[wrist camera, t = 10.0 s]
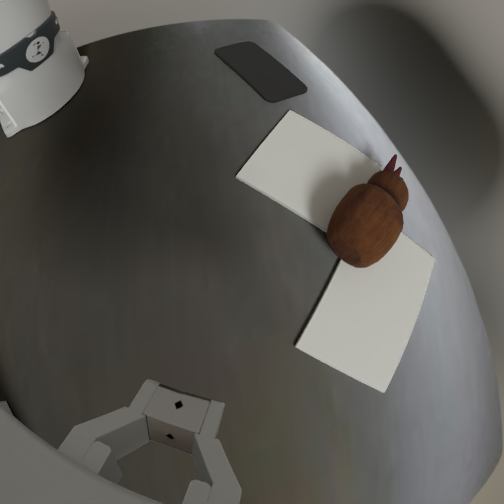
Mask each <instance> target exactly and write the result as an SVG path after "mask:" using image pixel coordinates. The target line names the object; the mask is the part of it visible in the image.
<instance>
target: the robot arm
mask: <svg viewBox="0 0 504 504" xmlns="http://www.w3.org/2000/svg"><path fill="white" fill-rule="evenodd" d="M59 30H60V27H59V24H58V19H57V17H56V16H55V13H54V12H53V11H51V10H50V6H49V3H48V0H0V122H1V125H2V128H3V130H4V133H5V135H6V136H7V137H11V136H12V135H14V134H16V133H17V132H18V131H20V130H21V129H24V128H26V127H30V126H32V125H35V124H37V123H39V122H41V121H43V120H45V119H46V118H48V117H49V116H51V115H52V114H54V113H55V112H56V111H57V110H59V109H60V108H61V107H62V106H63V105H65V104H66V103H67V102H68V101H69V100H70V99H71V98H72V97H73V95H74V94H75V93H76V92H77V91H78V89H79V88H80V86H81V84H82V82H83V80H84V76H85V73H84V70H85V68H86V66H87V64H88V63H89V59H88V57H87V56H80V55H79V53H78V50H77V48H76V47H75V44H74V42H73V40H72V37H71V35H70V33H69V32H65V31H59ZM224 406H225V403H221V402H217V401H214V400H211V399H208V398H204V397H200V396H197V395H194V394H190V393H187V392H182V391H179V390H177V389H174V388H171V387H169V386H166V385H163V384H161V383H158V382H156V381H153V380H150V379H147V380H146V381H145V382H144V384H143V385H142V387H141V388H140V390H139V392H138V393H137V395H136V396H135V398H134V400H133V401H132V403H131V404H130V406H129V408H127V407H123V408H120V409H118V410H115V411H113V412H111V413H108V414H106V415H103V416H100V417H98V418H95V419H93V420H90V421H87V422H85V423H82V424H79V425H76V426H74V428H73V429H72V430H71V432H70V433H69V435H68V436H67V437H66V439H65V440H64V442H63V443H62V444H61V446H60V447H59V449H58V450H57V449H55V448H54V447H52V446H51V445H50V444H48V443H47V442H45V441H44V440H43V439H41V438H40V437H39V436H37V435H36V434H35V433H33V432H32V431H31V430H30V429H28V428H27V427H26V426H25V425H24V424H22V423H21V422H20V421H19V420H18V419H16V418H15V417H14V416H13V415H12V414H11V413H10V412H9V411H7V410H6V409H5V408H4V407H3V406H2V405H1V404H0V504H164V503H161V502H158V501H156V500H153V499H150V498H148V497H145V496H143V495H140V494H138V493H135V492H133V491H131V490H129V489H126V488H124V487H122V486H120V485H118V483H119V480H120V478H121V476H122V473H121V470H120V468H119V466H118V464H117V462H116V460H117V459H119V458H121V457H123V456H125V455H126V454H128V453H130V452H132V451H133V450H135V449H137V448H139V447H140V446H142V445H144V444H145V443H147V442H149V440H151V441H154V442H157V443H160V444H163V445H165V446H169V447H171V448H174V449H177V450H180V451H183V452H186V453H188V454H191V455H192V457H193V461H194V464H195V467H196V470H197V473H198V476H199V479H200V481H198V480H193V481H191V482H190V484H189V487H188V490H187V492H186V495H185V498H184V500H183V503H182V504H239V502H240V497H241V493H242V489H241V487H240V485H239V483H238V481H237V479H236V477H235V475H234V473H233V470H232V468H231V466H230V464H229V462H228V459H227V457H226V455H225V453H224V450H223V448H222V446H221V443H220V441H219V439H216V437H217V434H218V430H219V426H220V422H221V418H222V414H223V410H224Z"/></svg>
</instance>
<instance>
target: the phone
mask: <svg viewBox="0 0 504 504" xmlns="http://www.w3.org/2000/svg"><path fill="white" fill-rule="evenodd" d="M215 55H216V56H217V57H219V58H220V59H221V60H222V61H223V62H224V63H225V64H226V65H228V66H229V67H230V68H231V69H232V70H233V71H234V72H236V73H237V74H238V75H239V76H240V77H241V78H242V79H243V80H244V81H245V82H246V83H247V84H248V85H250V86H251V87H252V88H253V89H254V90H255V91H256V92H257V93H258V94H259V95H260V96H261V97H262V98H263V99H264V100H265V101H267V102H270V103H275V102H279V101H282V100H285V99H288V98H291V97H294V96H297V95H301V94H304V93H306V91H307V87H306V85H305V84H303V83H302V82H301V81H300V80H299V79H298V78H297V77H296V76H295V75H293V74H292V73H291V72H290V71H289V70H288V69H286V68H285V67H284V66H283V65H282V64H281V63H279V62H278V61H277V60H276V59H274V58H273V57H272V56H271V55H269V54H268V53H267V52H266V51H264V50H263V49H262V48H261V47H259V46H258V45H257V44H255V43H253V42H242V43H237V44H233V45H229V46H225V47H221V48H218V49H216V50H215Z"/></svg>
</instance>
